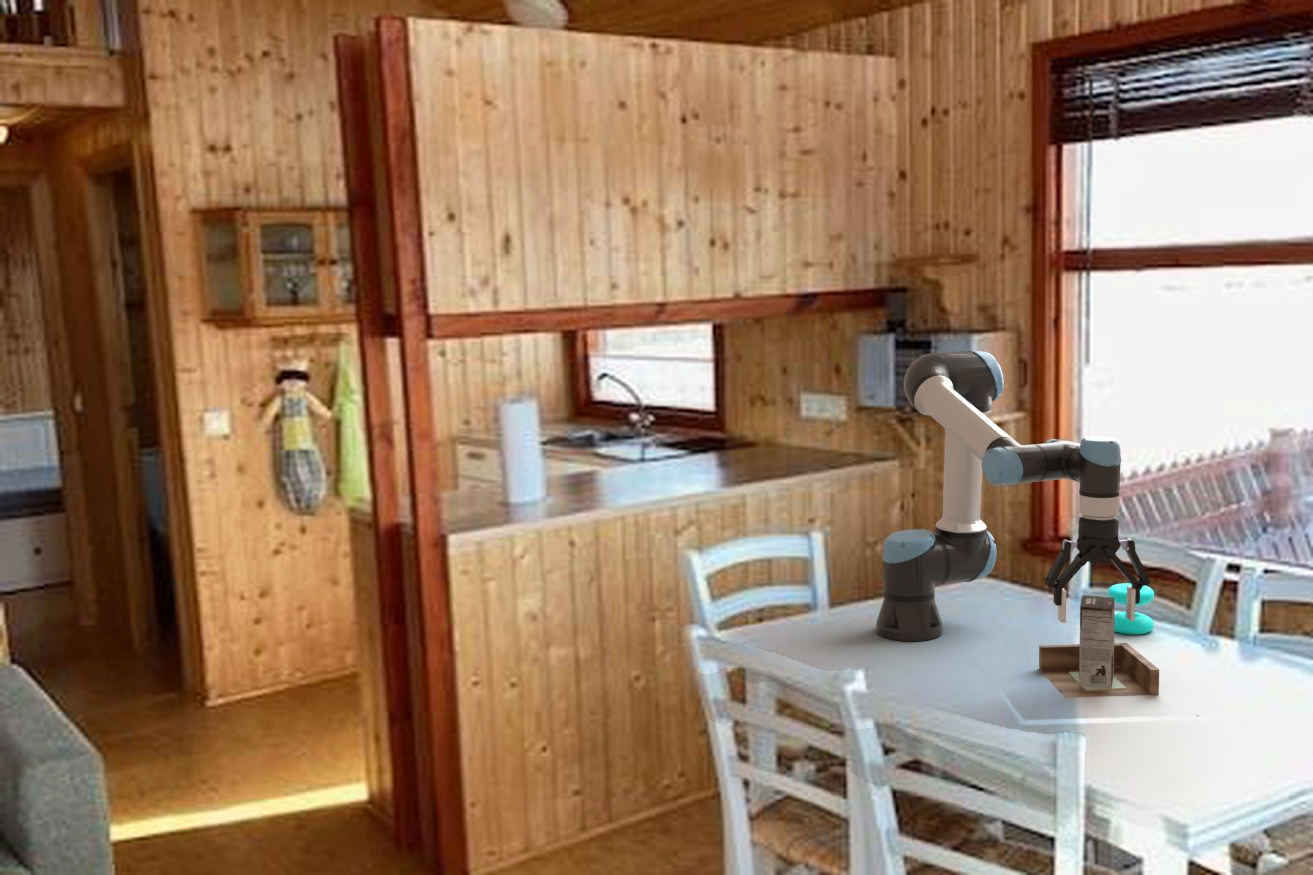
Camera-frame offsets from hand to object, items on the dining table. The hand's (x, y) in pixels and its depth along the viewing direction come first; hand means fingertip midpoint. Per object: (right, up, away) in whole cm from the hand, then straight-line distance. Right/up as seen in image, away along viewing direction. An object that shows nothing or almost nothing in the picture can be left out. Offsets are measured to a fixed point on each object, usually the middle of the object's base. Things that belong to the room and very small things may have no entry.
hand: (1096, 620), depth 258 cm
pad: (+1, -12, +1) cm, 12 cm away
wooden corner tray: (+1, -13, +1) cm, 13 cm away
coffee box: (+1, -12, +1) cm, 12 cm away
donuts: (+21, -8, +39) cm, 45 cm away
